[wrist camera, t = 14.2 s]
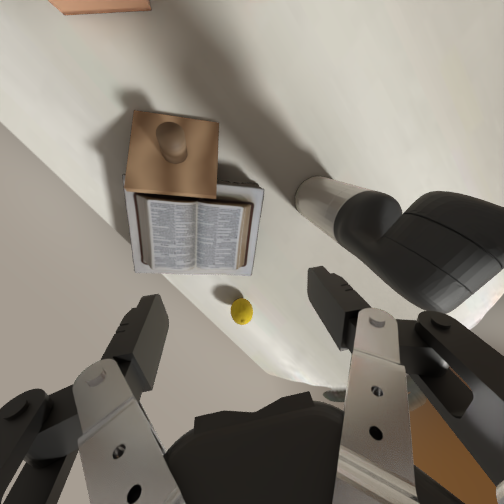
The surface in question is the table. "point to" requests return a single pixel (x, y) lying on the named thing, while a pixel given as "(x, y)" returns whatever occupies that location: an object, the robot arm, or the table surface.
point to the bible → (195, 230)
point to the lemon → (241, 311)
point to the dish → (100, 6)
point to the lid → (172, 156)
